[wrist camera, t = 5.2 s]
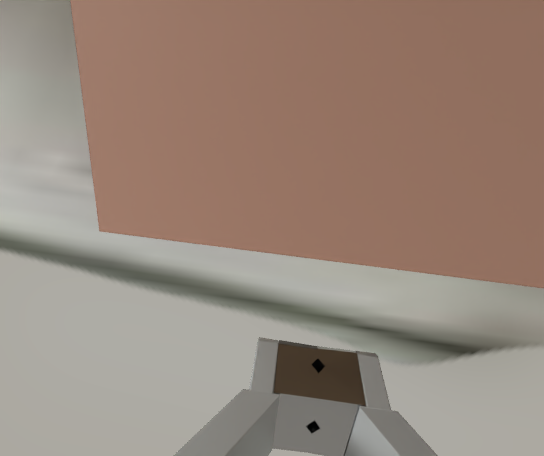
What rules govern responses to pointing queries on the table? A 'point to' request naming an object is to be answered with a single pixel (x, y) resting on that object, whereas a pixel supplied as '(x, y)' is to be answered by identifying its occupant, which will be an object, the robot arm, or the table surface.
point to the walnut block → (323, 128)
